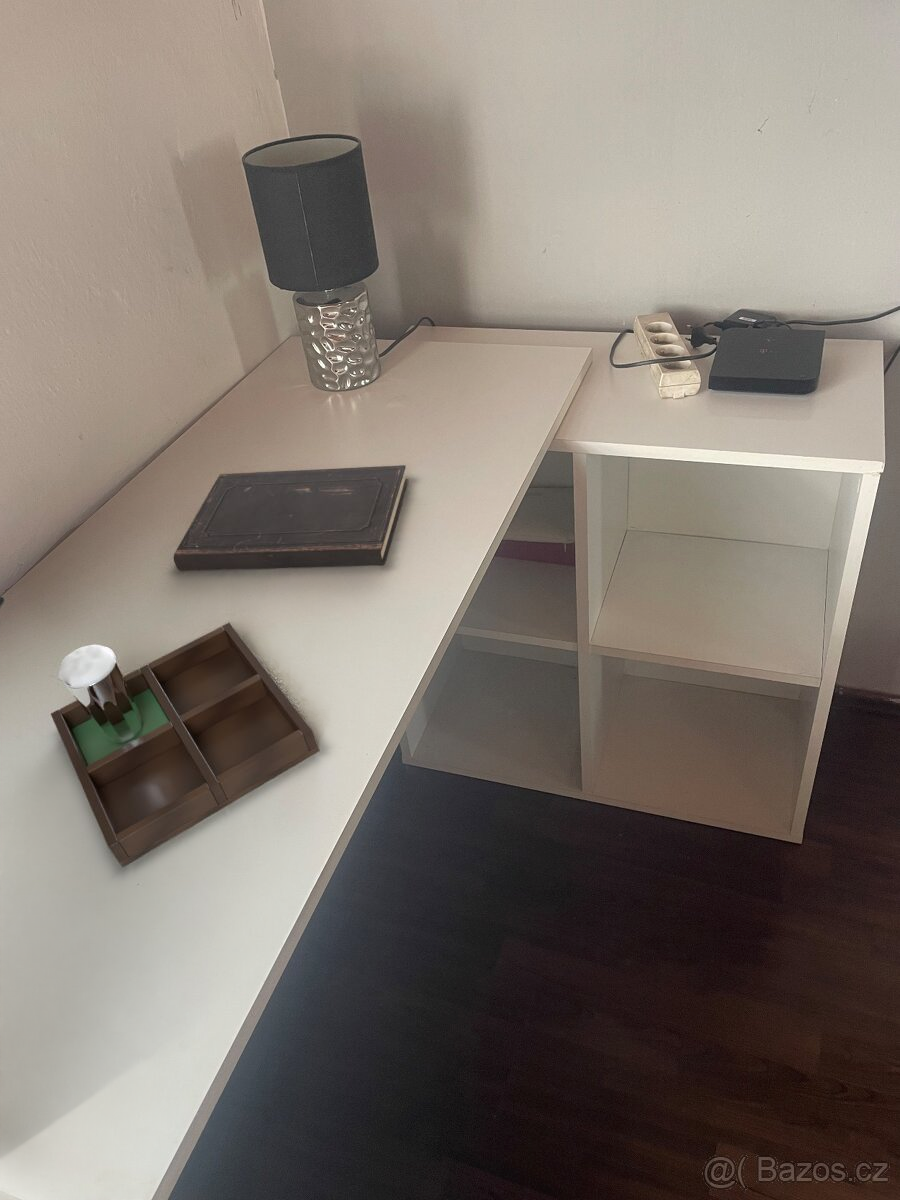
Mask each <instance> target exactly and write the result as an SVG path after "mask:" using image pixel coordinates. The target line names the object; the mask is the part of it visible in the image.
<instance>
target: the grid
mask: <svg viewBox="0 0 900 1200" xmlns="http://www.w3.org/2000/svg"><path fill="white" fill-rule="evenodd" d="M123 677H124V679H125V682H126V684H127V686H128V688H129V691H130V693H131V695H132V698H133V700H134V702H135V704H136V707H137V709H138V711H139V714H140V716H141V718H142V729H141V730H140V731H139V732H138V734H137V735H136V736H135V737H134V738H132V739H130V740H128V741H126V742H124V743H112V742H111V741H110V740H108V739H107V738H106V737H105V736H104V735H103V733H102V732H101V731H100V729H99V728H98V727H97V725H96V724H95V723H94V721H93V720H92V719H91V717H90V716H89V715H88V713H87V712H86V711H85V710H84V708H83V707H82V706H81V704H80V703H79V702H78V701H77V700H75V701H73V702H71V703H69V704H67V705H64V706H63V707H61V708H59V709H57V710H55V711H53V712H51V713H50V716H51V718H52V721H53V723H54V725H55V728H56V730H57V732H58V734H59V737H60V739H61V741H62V743H63V744H62V745H63V746H64V749H65V750H66V753H67V755H68V757H69V760H70V762H71V765H72V767H73V769H74V771H75V774H76V776H77V778H78V781H79V784H80V785H81V788H82V790H83V792H84V795H85V797H86V800H87V802H88V804H89V806H90V809H91V811H92V813H93V815H94V818H95V819H96V823H97V825H98V827H99V829H100V832H101V834H102V836H103V839H104V841H105V844H106V845H107V848H108V849H109V851H110V852H111V854H112V855H113V856H114V858H115V860H116V861H117V862H118V863H119V865H120V866H121V868H124V867H127V866H128V865H129V864H131V863H134V862H135V861H136V860H137V859H140V858H142V857H143V856H145V855H146V854H148V853H150V852H151V851H154V850H155V849H157V848H158V847H160V846H162V845H163V844H166V843H167V842H168V841H170V840H172V839H173V838H175V837H176V836H178V835H181V834H182V833H184V832H185V831H187V830H188V829H191V828H192V827H194V826H195V825H197V824H199V823H200V822H202V821H204V820H205V819H208V818H209V817H211V816H212V815H214V814H216V813H217V812H220V811H221V810H222V809H224V808H226V807H227V806H229V805H231V804H232V803H234V802H236V801H238V800H239V799H242V798H243V797H244V796H246V795H248V794H250V793H252V792H253V791H254V790H255V791H256V789H258V788H260V787H261V786H264V784H267V783H268V782H270V781H272V780H273V779H275V778H276V777H278V776H280V775H282V774H284V773H285V772H286V771H288V770H290V769H292V768H293V767H295V766H297V765H298V764H300V763H302V762H304V761H306V760H307V759H309V758H310V757H312V756H313V755H315V754H317V753H319V752H320V748H319V745H318V743H317V740H316V737H315V734H314V732H313V729H312V728H311V727H310V725H309V723H308V722H306V720H305V718H304V717H303V716H302V715H301V713H300V712H299V711H298V709H297V708H296V707H295V705H294V704H293V703H292V701H290V699H289V698H288V696H287V695H286V694H285V692H283V690H282V688H281V687H280V686H279V685H278V684H277V681H275V679H274V678H273V677H272V676H271V674H270V673H269V671H268V670H267V669H266V668H265V667H264V665H263V664H262V662H261V661H260V660H259V658H258V657H257V656H256V655H255V654H254V652H253V651H252V649H251V648H250V647H249V645H248V644H247V643H246V642H245V640H244V639H243V638H242V636H241V635H240V634H239V632H238V631H237V630H236V629H235V627H234V626H233V624H232V623H231V622H230V621H229V622H227V623H225V624H223V625H222V626H220V627H217V628H215V629H214V630H212V631H210V632H208V633H205V634H203V635H202V636H200V637H198V638H195V639H194V640H192V641H190V642H188V643H186V644H184V645H181V646H180V647H179V648H176V649H175V650H173V651H170V652H168V653H166V654H165V655H163V656H161V657H159V658H157V659H154V660H153V661H151V662H149V663H147V664H145V665H143V666H141V667H140V668H137V669H135V670H134V671H131V672H129V673H128V674H126V675H123Z"/></svg>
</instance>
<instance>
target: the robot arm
mask: <svg viewBox="0 0 900 1200" xmlns="http://www.w3.org/2000/svg"><path fill="white" fill-rule="evenodd" d="M4 602H5V598H4V597H3V596H2V595H0V609H1V608H2V606H3V604H4Z"/></svg>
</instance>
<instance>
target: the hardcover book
mask: <svg viewBox="0 0 900 1200" xmlns="http://www.w3.org/2000/svg"><path fill="white" fill-rule="evenodd" d="M406 468H407V467H406V465H404V464H403V465H381V466H380V465H379V466H363V467H362V466H361V467H360V466H359V467H338V468H321V469H298V470H278V471H277V470H276V471H259V472H258V471H255V472H253V471H252V472H236V473H235V472H233V473H219V474H218V476H217V478H216V480H215V481H214V483H213V485H212V486H211V488H210V490H209V492H208V494H207V495H206V498H205V499H204V501H203V502H202V504H201V505H200V508H199V509H198V511H197V513H196V514H195V517H194V518H193V520H192V522H191V523H190V525H189V527H188V529H187V531H186V532H185V534H184V536H183V537H182V539H181V541H180V542H179V544H178V547H177V548H176V550H175V552H174V553H173V562H174V565H175V567H176V569H177V570H178V571H181V572H183V571H220V570H221V571H222V570H223V571H224V570H258V569H259V570H261V569H262V570H263V569H292V568H293V569H294V568H295V569H296V568H297V569H298V568H299V569H300V568H334V567H337V568H339V567H370V566H371V567H373V566H375V567H377V566H385V565H386V561H387V558H388V555H389V551H390V548H391V544H392V541H393V537H394V534H395V530H396V526H397V523H398V519H399V516H400V512H401V508H402V505H403V501H404V498H405V494H406V492H407V491H406V490H407V487H408V484H409V479H408V478H405V475H404V474H405V471H406Z"/></svg>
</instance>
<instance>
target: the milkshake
mask: <svg viewBox="0 0 900 1200" xmlns="http://www.w3.org/2000/svg"><path fill="white" fill-rule="evenodd" d="M116 656H117V655H116V654H115V652H114V651H113V650H112V648H110V647H107V646H105V645H100V644H90V645H84V646H81V647H78V648H76V649H74V650H73V651H72V652H71V653H69V654H67V655H66V656H65V657H63V659H62V661H61V663H60V667H59V674H58V677H57V676H54V675H50V677H51V678H53V679H55V680H57V681H59V682H61V683H62V684H63V685H64V687H66V689H67V690H68V691H69V692H70V694H71V695H72V696H73V697H74V699H76V701H78V702H79V703H80V704H81V706H82V707H83V708H84V710H85V711H86V712H87V713H88V715H89V716H90V717H91V719H92V720H93V721H94V723H95V724H96V725H97V727H98V728H99V729H100V731H101V732H102V733H103V735H104V736H105V737H106V738H107V739H108V740H110V741H111V742H112V743H124V742H126V741H128V740H130V739H132V738H134V737H135V736H136V735H137V734H138V732H139V731H140V730H141V729H142V718H141V716H140V714H139V711H138V709H137V707H136V704H135V702H134V700H133V698H132V695H131V693H130V691H129V688H128V686H127V684H126V682H125V679H124V674H123V672H122V670H121V667H120V664H119V661H118V659H117V657H116Z"/></svg>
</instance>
